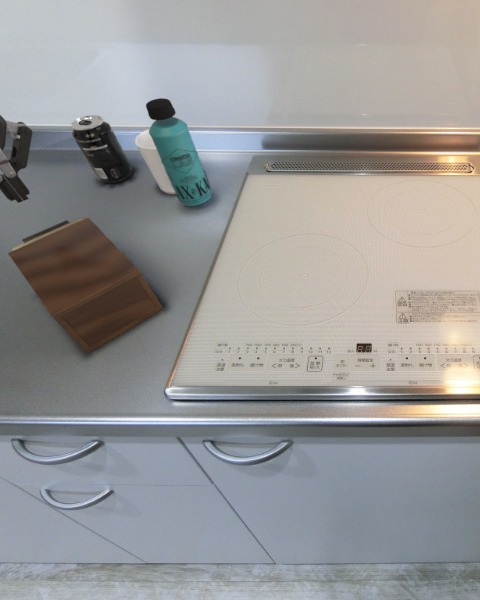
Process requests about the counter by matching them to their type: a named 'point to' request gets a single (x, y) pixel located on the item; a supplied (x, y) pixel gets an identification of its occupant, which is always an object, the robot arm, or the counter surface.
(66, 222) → the drawer
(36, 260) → the cabinet
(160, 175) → the mug
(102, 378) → the counter surface
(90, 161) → the beverage can
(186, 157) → the beverage bottle
